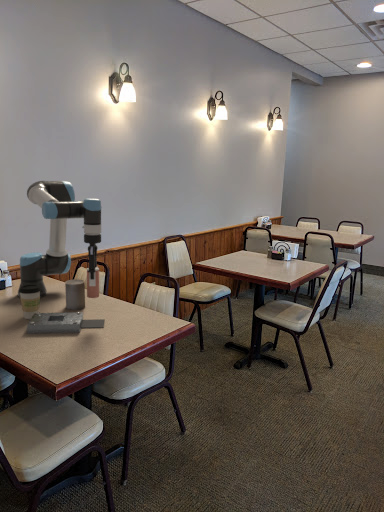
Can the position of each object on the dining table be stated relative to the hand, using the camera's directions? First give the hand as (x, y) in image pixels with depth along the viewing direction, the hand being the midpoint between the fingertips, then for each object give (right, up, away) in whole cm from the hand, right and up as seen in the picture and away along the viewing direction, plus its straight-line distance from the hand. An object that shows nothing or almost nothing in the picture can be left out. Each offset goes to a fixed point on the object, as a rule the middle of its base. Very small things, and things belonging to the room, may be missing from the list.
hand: (93, 284), depth 187 cm
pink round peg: (0, -6, +1) cm, 6 cm away
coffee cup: (-32, -17, +10) cm, 38 cm away
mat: (-1, -19, +4) cm, 19 cm away
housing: (-16, -19, -1) cm, 25 cm away
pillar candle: (-16, -14, +26) cm, 34 cm away
